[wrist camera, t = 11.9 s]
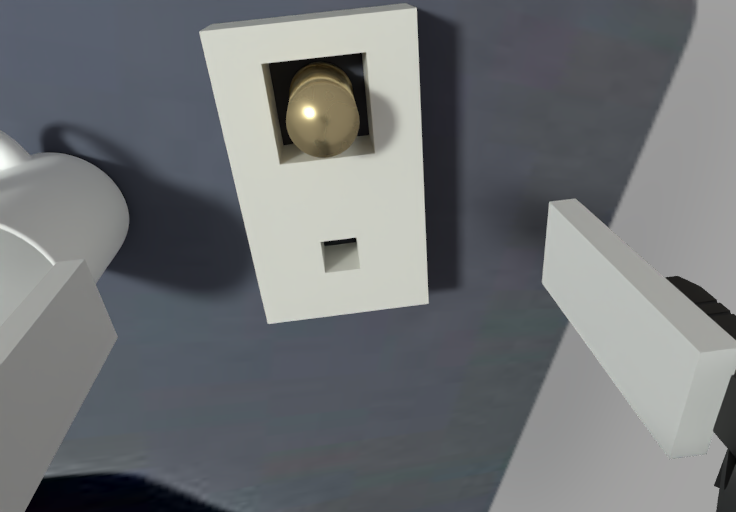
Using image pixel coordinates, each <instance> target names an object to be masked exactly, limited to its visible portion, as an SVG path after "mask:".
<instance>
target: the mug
mask: <svg viewBox="0 0 736 512" xmlns="http://www.w3.org/2000/svg"><path fill="white" fill-rule="evenodd" d="M128 227H129V212H128V207H127V204H126V201H125V199H124V197H123V195H122V193H121V191H120V190H119V188H118V187H117V185H116V184H115V183H114V182H113V180H112V179H111V178H110V177H109V176H108V175H107V174H105V173H104V172H103V171H102V170H100V169H99V168H98V167H96V166H94V165H93V164H91V163H89V162H87V161H85V160H83V159H80V158H78V157H75V156H71V155H67V154H62V153H50V152H46V153H37V154H33V155H30V154H29V153H28V152H27V151H26V150H25V149H24V148H23V147H22V146H21V145H20V144H19V143H17V142H16V141H15V140H14V139H13V138H11V137H10V136H9V135H7V134H6V133H4V132H3V131H1V130H0V326H1V325H2V324H3V323H4V322H5V321H6V320H7V318H8V317H9V316H10V315H11V314H12V313H13V312H14V310H15V309H16V308H17V307H18V306H19V305H20V304H21V302H22V301H23V300H24V299H25V298H26V297H27V296H28V294H29V293H30V292H31V291H32V290H33V289H34V288H35V286H36V285H37V284H38V283H39V282H40V281H41V280H42V279H43V277H44V276H45V275H46V274H47V273H48V272H49V271H50V269H51V268H52V267H53V266H54V265H55V264H56V263H57V262H63V261H71V260H79V259H85V261H86V263H87V265H88V268H89V270H90V272H91V275H92V277H93V280H94V282H95V284H96V283H97V281H98V280H99V278H100V277H101V275H102V274H103V272H104V271H105V270H106V268H107V267H108V265H109V264H110V262H111V261H112V259H113V258H114V257H115V255H116V254H117V252H118V251H119V249H120V248H121V246H122V244H123V242H124V240H125V238H126V235H127V232H128Z"/></svg>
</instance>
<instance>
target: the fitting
mask: <svg viewBox="0 0 736 512" xmlns="http://www.w3.org/2000/svg"><path fill="white" fill-rule="evenodd" d="M286 127H287V131H288V134H289V136H290V138H291V140H292V141H293V143H294V144H295V145H296V146H297V147H298V148H299V149H300V150H301V151H303V152H304V153H306V154H308V155H311V156H314V157H319V158H328V157H333V156H336V155H338V154H341V153H342V152H344V151H345V150H347V149H348V148H349V147H350V146H351V145H352V143H353V142H354V140H355V138H356V136H357V134H358V130H359V113H358V110H357V107H356V103H355V100H354V92H353V88H352V84H351V82H350V79H349V78H348V76H347V74H346V73H345V72H344V71H343V70H342V69H341V68H340V67H338V66H337V65H335V64H332V63H330V62H326V61H316V62H312V63H309V64H307V65H305V66H303V67H302V68H301V69H299V70H298V72H297V73H296V74H295V76H294V77H293V79H292V82H291V85H290V90H289V104H288V109H287V115H286Z"/></svg>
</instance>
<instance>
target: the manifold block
mask: <svg viewBox="0 0 736 512" xmlns="http://www.w3.org/2000/svg"><path fill="white" fill-rule="evenodd" d="M199 33H200V37H201V42H202V46H203V50H204V54H205V59H206V63H207V67H208V71H209V76H210V80H211V84H212V88H213V93H214V97H215V101H216V105H217V110H218V114H219V118H220V122H221V127H222V131H223V135H224V139H225V144H226V148H227V152H228V156H229V161H230V165H231V169H232V173H233V178H234V182H235V186H236V190H237V195H238V199H239V203H240V207H241V212H242V216H243V220H244V224H245V229H246V233H247V237H248V241H249V246H250V250H251V254H252V258H253V263H254V267H255V271H256V275H257V280H258V284H259V288H260V292H261V297H262V301H263V305H264V309H265V314H266V318H267V322H268V324H272V323H280V322H288V321H296V320H303V319H311V318H319V317H327V316H335V315H343V314H350V313H358V312H366V311H374V310H382V309H390V308H397V307H405V306H413V305H421V304H429V302H428V277H427V251H426V226H425V201H424V176H423V151H422V126H421V101H420V76H419V51H418V26H417V8H416V7H414V6H411V5H409V4H406V3H403V4H394V5H384V6H375V7H366V8H357V9H348V10H338V11H329V12H320V13H311V14H302V15H292V16H283V17H274V18H265V19H256V20H246V21H237V22H228V23H219V24H211V25H210V26H208V27H206V28H204V29H203V30H201V31H199ZM355 53H362V61H363V72H364V82H365V93H366V104H367V115H368V126H369V135H367V136H358V137H356V138H355V140H354V142H353V143H352V145H351V146H350V147H349V148H348V149H347V150H345V151H344V152H342V153H341V154H338V155H336V156H333V157H328V158H319V157H314V156H311V155H308V154H306V153H304V152H303V151H301V150H300V149H299V148H298V147H297V146H296V145H295V144H289V145H283V141H282V135H281V129H280V124H279V118H278V113H277V107H276V101H275V96H274V90H273V85H272V79H271V73H270V68H269V63H274V62H283V61H292V60H301V59H310V58H319V57H328V56H337V55H346V54H355ZM348 238H356V242H354V243H346V244H338V245H330V246H324V241H332V240H340V239H348Z"/></svg>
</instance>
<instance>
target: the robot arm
mask: <svg viewBox="0 0 736 512" xmlns="http://www.w3.org/2000/svg"><path fill="white" fill-rule="evenodd" d="M542 284H543V285H544V286H545V288H546V289H547V291H548V292H549V293H550V295H551V296H552V297H553V299H554V300H555V302H556V303H557V304H558V306H559V307H560V309H561V310H562V311H563V313H564V314H565V316H566V317H567V318H568V320H569V321H570V322H571V324H572V325H573V327H574V328H575V329H576V331H577V332H578V333H579V335H580V336H581V338H582V339H583V340H584V342H585V343H586V345H587V346H588V347H589V349H590V350H591V352H592V353H593V354H594V356H595V357H596V358H597V360H598V361H599V363H600V364H601V365H602V367H603V368H604V370H605V371H606V372H607V374H608V375H609V376H610V378H611V379H612V381H613V382H614V383H615V385H616V386H617V388H618V389H619V390H620V392H621V393H622V394H623V396H624V397H625V399H626V400H627V401H628V403H629V404H630V406H631V407H632V408H633V410H634V411H635V413H636V414H637V415H638V417H639V418H640V419H641V421H642V422H643V424H644V425H645V426H646V428H647V429H648V431H649V432H650V433H651V435H652V436H653V437H654V439H655V440H656V442H657V443H658V444H659V446H660V447H661V448H662V450H663V451H664V453H665V454H666V455H667V457H668V458H669V459H675V458H683V457H690V456H697V455H704V454H707V451H708V448H709V445H710V442H711V440H712V437H713V434H714V433H715V434H716V435H717V436H718V438H719V439H720V440H721V441H722V442H723V443H724V445H725V446H726V447H727V448H728V450H727V452H726V455H725V458H724V460H723V463H722V466H721V468H720V471H719V474H718V476H717V479H716V482H715V484H714V486H716V487H718V488H720V489H719V496H718V503H717V510H716V512H736V316H735V315H734V314H731V313H730V310H728V309H727V308H726V307H725V306H723V305H722V304H721V303H717V300H716V299H715V298H714V297H713V296H711V295H710V294H709V293H708V292H707V291H705V290H704V289H703V288H702V287H700V286H698V285H696V284H694V283H692V282H690V281H688V280H685V279H683V278H681V277H679V276H674V277H666V278H665V277H664V276H662V275H661V274H660V273H659V272H658V271H657V270H656V269H655V268H653V267H652V266H651V265H649V263H648V262H646V261H645V260H644V259H643V258H642V257H641V256H640V255H639V254H637V253H636V252H635V251H634V250H633V249H632V248H631V247H630V246H629V245H627V244H626V243H625V242H624V241H623V240H622V239H621V238H619V237H618V236H617V235H616V234H615V233H614V232H612V230H610V229H609V228H608V227H607V226H606V225H605V224H604V223H603V222H601V221H600V220H599V219H598V218H597V217H596V216H595V215H593V214H592V213H591V212H590V211H589V210H588V209H587V208H586V207H584V206H583V205H582V204H581V203H580V202H579V201H578V200H577V199H568V200H560V201H552V202H549V210H548V221H547V232H546V243H545V254H544V266H543V277H542ZM117 338H118V337H117V334H116V332H115V330H114V327H113V325H112V322H111V320H110V318H109V315H108V313H107V311H106V308H105V306H104V303H103V301H102V299H101V296H100V294H99V291H98V289H97V287H96V284H95V282H94V280H93V277H92V275H91V272H90V270H89V268H88V265H87V263H86V261H85V259H79V260H71V261H63V262H57V263H56V264H55V265H54V266H53V267H52V268H51V269H50V271H49V272H48V273H47V274H46V275H45V276H44V277H43V279H42V280H41V281H40V282H39V283H38V284H37V285H36V286H35V288H34V289H33V290H32V291H31V292H30V293H29V294H28V296H27V297H26V298H25V299H24V300H23V301H22V302H21V304H20V305H19V306H18V307H17V308H16V309H15V310H14V312H13V313H12V314H11V315H10V316H9V317H8V318H7V320H6V321H5V322H4V323H3V324H2V325H1V326H0V512H25V510H26V508H27V506H28V504H29V502H30V500H31V499H32V497H33V495H34V493H35V491H36V489H37V487H38V485H39V484H40V482H41V480H42V478H43V476H44V474H45V472H46V470H47V469H48V467H49V465H50V463H51V461H52V459H53V457H54V456H55V454H56V452H57V450H58V448H59V446H60V444H61V442H62V441H63V439H64V437H65V435H66V433H67V431H68V429H69V427H70V426H71V424H72V422H73V420H74V418H75V416H76V414H77V412H78V411H79V409H80V407H81V405H82V403H83V401H84V399H85V397H86V396H87V394H88V392H89V390H90V388H91V386H92V384H93V383H94V381H95V379H96V377H97V375H98V373H99V371H100V369H101V368H102V366H103V364H104V362H105V360H106V358H107V356H108V354H109V353H110V351H111V349H112V347H113V345H114V343H115V341H116V339H117Z"/></svg>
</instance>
